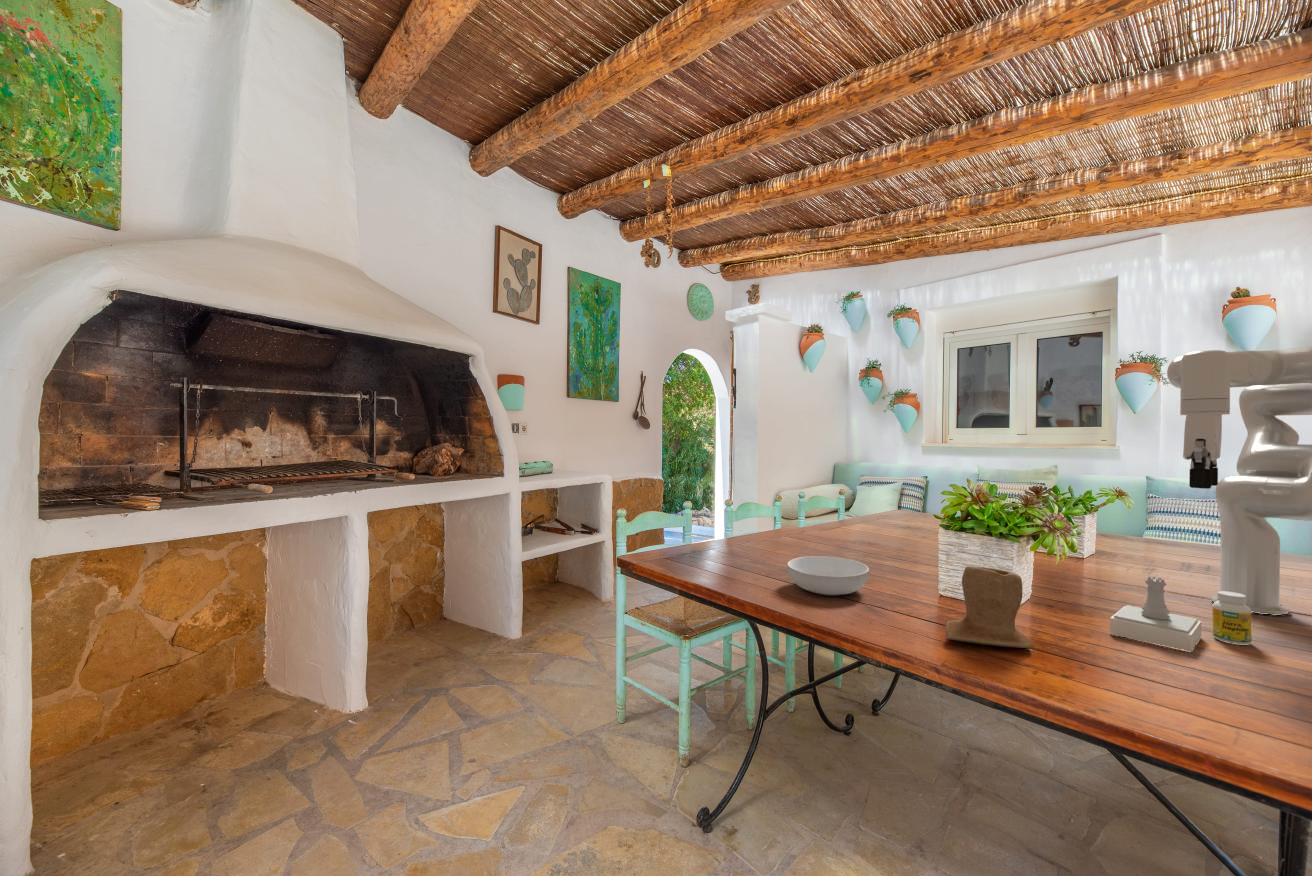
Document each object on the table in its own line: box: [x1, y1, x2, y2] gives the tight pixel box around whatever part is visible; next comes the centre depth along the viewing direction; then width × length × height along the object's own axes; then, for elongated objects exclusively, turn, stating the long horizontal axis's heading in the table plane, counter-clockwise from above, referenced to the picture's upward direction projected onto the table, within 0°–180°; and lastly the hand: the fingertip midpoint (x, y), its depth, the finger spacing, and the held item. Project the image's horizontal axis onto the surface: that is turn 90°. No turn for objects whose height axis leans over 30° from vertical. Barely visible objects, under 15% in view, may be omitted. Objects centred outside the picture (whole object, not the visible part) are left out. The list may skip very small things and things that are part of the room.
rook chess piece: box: [1141, 576, 1171, 620], centre depth 110 cm, size 4×4×8 cm
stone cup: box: [945, 565, 1032, 649], centre depth 108 cm, size 15×12×15 cm
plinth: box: [1109, 604, 1202, 652], centre depth 110 cm, size 12×12×4 cm
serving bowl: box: [786, 555, 870, 596], centre depth 143 cm, size 21×21×7 cm
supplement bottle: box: [1212, 590, 1253, 645], centre depth 108 cm, size 5×5×10 cm
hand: (1203, 486), depth 116 cm, fingers open, 9 cm apart
